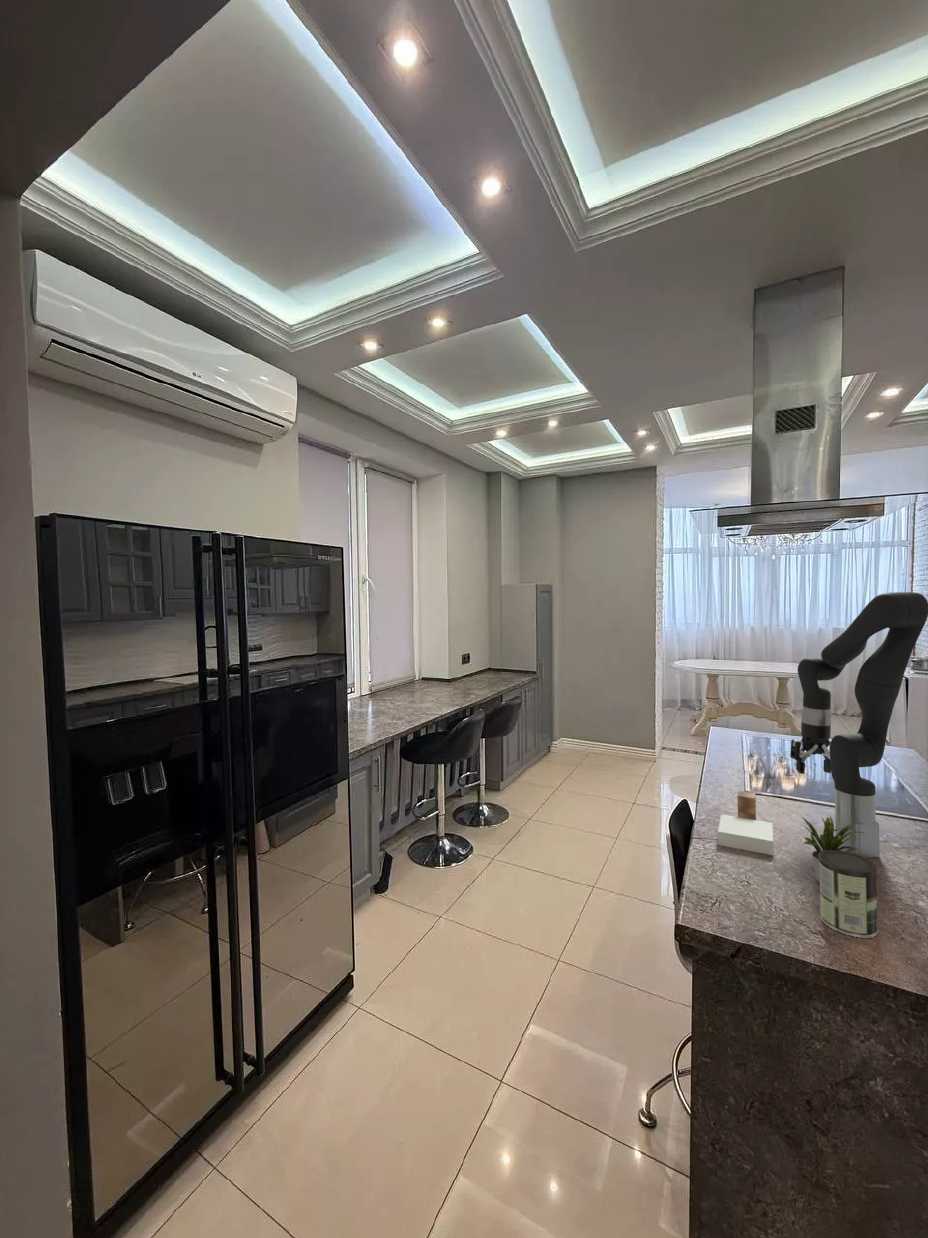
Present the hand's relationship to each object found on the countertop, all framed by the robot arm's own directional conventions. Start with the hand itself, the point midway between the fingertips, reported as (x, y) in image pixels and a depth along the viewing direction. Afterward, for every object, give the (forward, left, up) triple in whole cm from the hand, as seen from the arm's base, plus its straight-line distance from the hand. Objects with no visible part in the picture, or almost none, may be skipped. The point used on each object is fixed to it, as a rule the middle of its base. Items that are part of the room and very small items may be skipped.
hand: (814, 772), depth 158 cm
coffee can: (-44, +29, -18) cm, 56 cm away
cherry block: (+7, +17, -18) cm, 26 cm away
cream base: (-4, +25, -18) cm, 31 cm away
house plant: (-29, +19, -18) cm, 39 cm away
